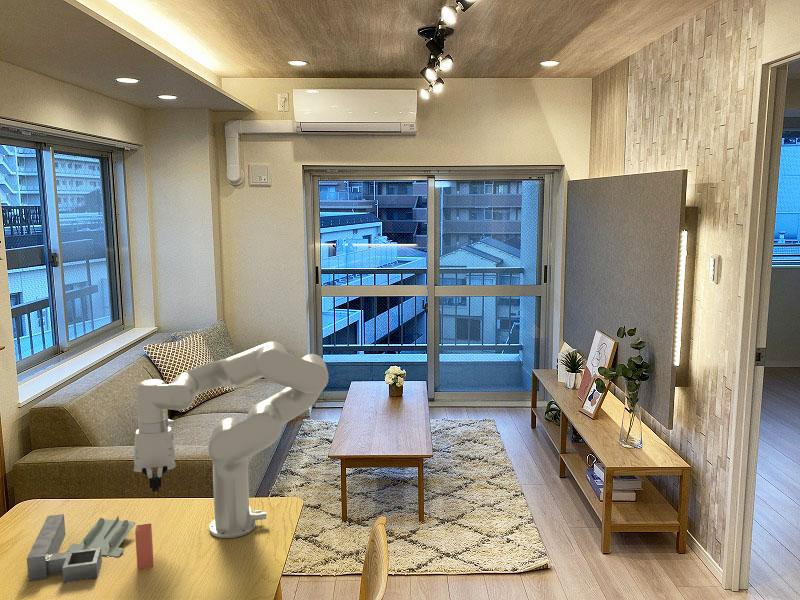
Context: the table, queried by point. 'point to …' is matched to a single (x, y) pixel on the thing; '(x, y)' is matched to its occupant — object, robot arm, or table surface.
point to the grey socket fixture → (60, 555)
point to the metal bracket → (105, 537)
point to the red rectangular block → (144, 546)
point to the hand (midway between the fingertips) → (155, 489)
